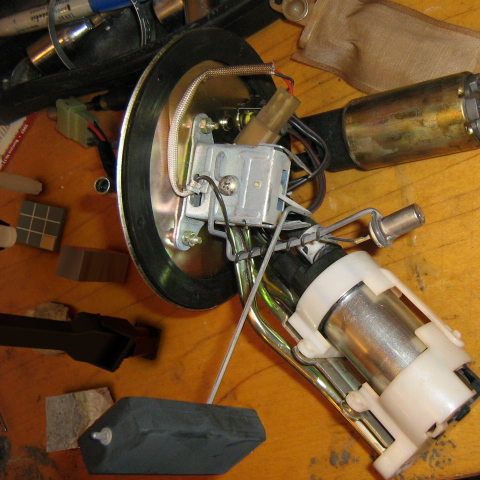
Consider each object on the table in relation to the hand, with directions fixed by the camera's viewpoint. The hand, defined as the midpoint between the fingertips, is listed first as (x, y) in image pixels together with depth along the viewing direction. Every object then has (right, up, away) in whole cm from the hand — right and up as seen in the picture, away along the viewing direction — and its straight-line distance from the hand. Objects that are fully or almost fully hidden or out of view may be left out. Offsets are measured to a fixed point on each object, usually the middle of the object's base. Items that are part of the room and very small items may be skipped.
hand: (6, 236), depth 95 cm
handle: (-2, +12, +14) cm, 19 cm away
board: (0, +3, +12) cm, 13 cm away
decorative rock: (+6, -20, +8) cm, 23 cm away
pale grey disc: (0, 0, +1) cm, 1 cm away
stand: (+22, -6, +3) cm, 23 cm away
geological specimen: (+17, -38, +1) cm, 41 cm away
